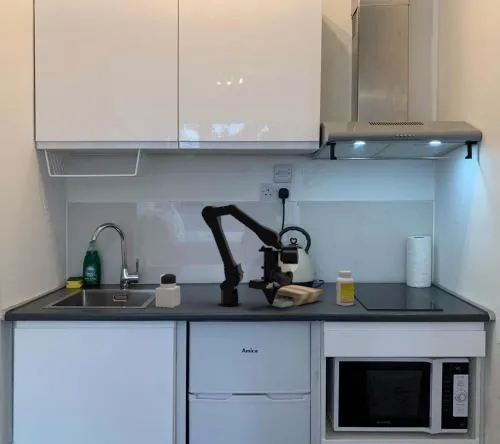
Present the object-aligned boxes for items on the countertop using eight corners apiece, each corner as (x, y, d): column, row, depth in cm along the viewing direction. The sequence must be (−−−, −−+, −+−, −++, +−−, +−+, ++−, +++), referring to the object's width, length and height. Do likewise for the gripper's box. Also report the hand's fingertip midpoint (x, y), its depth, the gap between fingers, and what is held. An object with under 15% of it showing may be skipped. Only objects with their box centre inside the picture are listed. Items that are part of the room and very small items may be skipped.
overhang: (300, 306, 183) (300, 294, 183) (270, 300, 195) (270, 288, 194) (323, 301, 192) (323, 289, 192) (292, 295, 204) (293, 284, 204)
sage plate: (281, 308, 182) (281, 303, 181) (268, 305, 187) (268, 300, 187) (305, 302, 191) (305, 298, 191) (292, 300, 196) (292, 295, 196)
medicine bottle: (180, 304, 187) (180, 273, 187) (172, 308, 180) (172, 276, 180) (163, 303, 189) (163, 272, 189) (155, 306, 182) (155, 275, 182)
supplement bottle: (357, 305, 186) (357, 271, 185) (344, 306, 182) (344, 273, 182) (345, 301, 192) (346, 269, 191) (332, 303, 188) (332, 270, 188)
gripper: (269, 268, 170) (269, 312, 171) (303, 263, 183) (303, 304, 184) (247, 265, 178) (247, 307, 179) (281, 260, 191) (281, 300, 192)
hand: (270, 304), depth 183 cm, fingers closed
